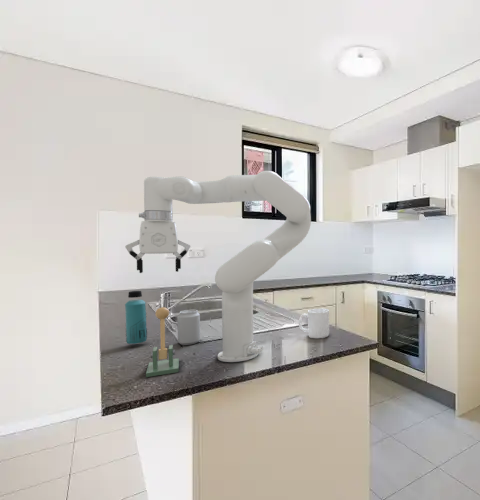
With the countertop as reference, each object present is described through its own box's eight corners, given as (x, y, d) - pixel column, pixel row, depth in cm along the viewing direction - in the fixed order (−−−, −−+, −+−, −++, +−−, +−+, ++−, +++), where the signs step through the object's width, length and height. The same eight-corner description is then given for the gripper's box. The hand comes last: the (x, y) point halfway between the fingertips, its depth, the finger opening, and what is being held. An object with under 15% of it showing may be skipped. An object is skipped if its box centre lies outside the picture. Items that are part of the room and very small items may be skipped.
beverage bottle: (139, 348, 126) (138, 292, 126) (121, 348, 126) (119, 292, 126) (151, 342, 133) (150, 289, 132) (134, 342, 133) (132, 289, 132)
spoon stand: (149, 366, 108) (148, 345, 108) (179, 361, 112) (178, 341, 112) (145, 377, 99) (145, 354, 99) (178, 372, 103) (178, 350, 103)
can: (198, 344, 130) (197, 312, 130) (175, 346, 128) (174, 313, 127) (202, 339, 137) (201, 308, 137) (180, 340, 135) (179, 309, 135)
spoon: (155, 307, 107) (154, 308, 104) (169, 306, 109) (168, 306, 106) (156, 358, 106) (155, 360, 103) (170, 356, 108) (169, 358, 105)
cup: (327, 338, 137) (327, 312, 136) (296, 338, 137) (296, 312, 136) (330, 332, 145) (330, 308, 145) (301, 333, 145) (300, 308, 145)
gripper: (123, 215, 103) (124, 274, 103) (190, 217, 112) (191, 271, 112) (126, 217, 109) (127, 272, 110) (189, 218, 118) (189, 270, 119)
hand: (159, 271), depth 111 cm, fingers open, 9 cm apart
